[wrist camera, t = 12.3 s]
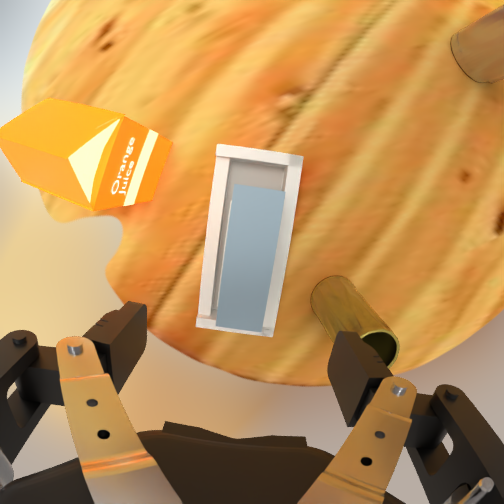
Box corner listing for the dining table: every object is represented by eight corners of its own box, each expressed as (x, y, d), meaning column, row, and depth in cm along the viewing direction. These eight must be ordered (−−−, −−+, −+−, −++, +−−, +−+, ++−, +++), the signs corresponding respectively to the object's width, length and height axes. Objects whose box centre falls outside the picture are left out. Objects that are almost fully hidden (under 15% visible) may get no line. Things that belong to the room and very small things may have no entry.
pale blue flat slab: (275, 190, 33) (285, 191, 23) (258, 293, 35) (261, 332, 25) (237, 184, 32) (231, 183, 23) (222, 287, 35) (212, 325, 25)
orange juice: (151, 202, 34) (51, 222, 15) (93, 180, 34) (-23, 185, 14) (174, 140, 33) (90, 94, 13) (113, 123, 32) (7, 82, 13)
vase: (326, 267, 36) (368, 313, 22) (364, 288, 37) (416, 338, 23) (301, 308, 37) (327, 371, 23) (339, 326, 38) (377, 390, 24)
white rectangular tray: (296, 160, 33) (303, 156, 29) (270, 320, 38) (272, 337, 33) (221, 149, 33) (217, 143, 29) (201, 311, 37) (195, 326, 33)
